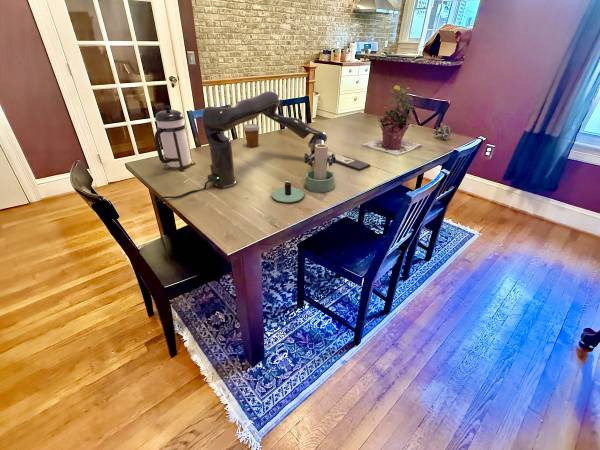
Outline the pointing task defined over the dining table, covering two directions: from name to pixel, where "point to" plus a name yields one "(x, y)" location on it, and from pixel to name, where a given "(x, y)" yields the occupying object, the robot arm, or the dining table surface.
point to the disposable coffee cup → (251, 134)
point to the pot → (319, 182)
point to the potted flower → (395, 126)
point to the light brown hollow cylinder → (320, 161)
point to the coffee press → (172, 139)
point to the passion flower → (443, 131)
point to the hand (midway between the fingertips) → (320, 164)
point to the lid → (288, 194)
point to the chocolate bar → (352, 163)
